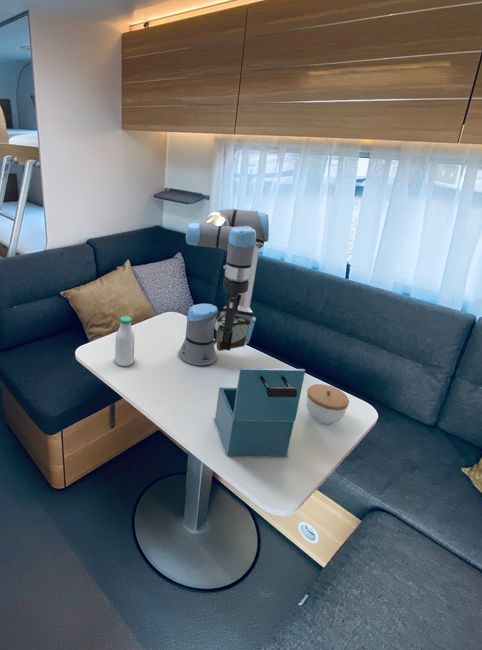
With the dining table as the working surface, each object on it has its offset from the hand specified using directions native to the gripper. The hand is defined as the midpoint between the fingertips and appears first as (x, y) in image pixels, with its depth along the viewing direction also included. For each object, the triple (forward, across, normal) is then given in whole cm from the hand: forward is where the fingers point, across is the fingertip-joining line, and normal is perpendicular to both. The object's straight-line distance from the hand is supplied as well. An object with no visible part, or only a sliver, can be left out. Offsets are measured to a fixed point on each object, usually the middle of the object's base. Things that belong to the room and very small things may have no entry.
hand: (227, 342), depth 133 cm
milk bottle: (+27, -15, -41) cm, 51 cm away
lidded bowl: (+27, -11, +34) cm, 44 cm away
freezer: (+27, +9, +11) cm, 30 cm away
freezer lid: (+5, +16, +14) cm, 22 cm away
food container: (+1, -2, 0) cm, 2 cm away
